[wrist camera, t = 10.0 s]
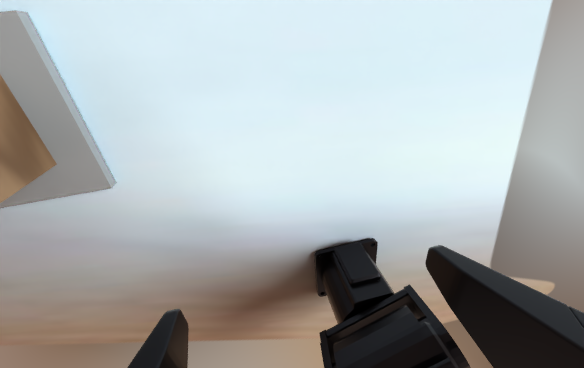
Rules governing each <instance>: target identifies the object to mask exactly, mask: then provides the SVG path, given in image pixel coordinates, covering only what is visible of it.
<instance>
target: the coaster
mask: <svg viewBox="0 0 584 368" xmlns="http://www.w3.org/2000/svg"><path fill="white" fill-rule="evenodd" d="M0 75H1V76H2V78H3V79H4V81H5V83H6V84H7V86H8V87H9V89H10V91H11V92H12V94H13V95H14V97H15V98H16V100H17V102H18V103H19V105H20V106H21V108H22V110H23V111H24V113H25V114H26V116H27V117H28V119H29V121H30V122H31V124H32V125H33V127H34V129H35V130H36V132H37V133H38V135H39V137H40V138H41V140H42V141H43V143H44V144H45V146H46V148H47V149H48V151H49V152H50V154H51V156H52V157H53V159H54V160H55V162H56V164H57V165H55V166H54V167H52V168H51V169H49V170H48V171H46V172H45V173H44V174H42V175H41V176H39V177H38V178H36V179H35V180H33V181H32V182H30V183H29V184H28V185H26V186H25V187H23V188H22V189H20V190H19V191H17V192H16V193H14V194H13V195H12V196H10V197H9V198H7V199H6V200H4V201H3V202H1V203H0V208H4V207H9V206H15V205H20V204H26V203H32V202H37V201H43V200H48V199H54V198H59V197H65V196H71V195H76V194H82V193H87V192H93V191H98V190H104V189H110V188H112V187H113V186H114V185H115V183H116V181H115V179H114V177H113V175H112V174H111V172H110V170H109V168H108V166H107V164H106V162H105V160H104V158H103V156H102V154H101V152H100V151H99V149H98V147H97V145H96V143H95V141H94V139H93V137H92V135H91V133H90V131H89V130H88V128H87V126H86V124H85V122H84V120H83V118H82V116H81V114H80V112H79V110H78V108H77V107H76V105H75V103H74V101H73V99H72V97H71V95H70V93H69V91H68V89H67V87H66V85H65V84H64V82H63V80H62V78H61V76H60V74H59V72H58V70H57V68H56V66H55V64H54V62H53V61H52V59H51V57H50V55H49V53H48V51H47V49H46V47H45V45H44V43H43V41H42V39H41V38H40V36H39V34H38V32H37V30H36V28H35V26H34V24H33V22H32V20H31V18H30V16H29V15H28V13H27V12H22V11H6V12H0Z"/></svg>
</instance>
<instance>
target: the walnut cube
mask: <svg viewBox="0 0 584 368" xmlns="http://www.w3.org/2000/svg"><path fill="white" fill-rule="evenodd" d="M55 165H57V164H56V162H55V160H54V159H53V157H52V156H51V154H50V152H49V151H48V149H47V148H46V146H45V144H44V143H43V141H42V140H41V138H40V137H39V135H38V133H37V132H36V130H35V129H34V127H33V125H32V124H31V122H30V121H29V119H28V117H27V116H26V114H25V113H24V111H23V110H22V108H21V106H20V105H19V103H18V102H17V100H16V98H15V97H14V95H13V94H12V92H11V91H10V89H9V87H8V86H7V84H6V83H5V81H4V79H3V78H2V76H1V75H0V203H1V202H3V201H4V200H6V199H7V198H9V197H10V196H12V195H13V194H14V193H16V192H17V191H19V190H20V189H22V188H23V187H25V186H26V185H28V184H29V183H30V182H32V181H33V180H35V179H36V178H38V177H39V176H41V175H42V174H44V173H45V172H46V171H48V170H49V169H51V168H52V167H54V166H55Z"/></svg>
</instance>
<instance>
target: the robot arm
mask: <svg viewBox="0 0 584 368" xmlns="http://www.w3.org/2000/svg"><path fill="white" fill-rule="evenodd" d="M320 255H321V256H320ZM376 255H377V242H376V240H375V239H373V238H372V239H367V240H363V241H359V242H354V243H350V244H346V245H341V246H337V247H333V248H328V249H324V250H320V251H317V252H316V253H315V254H314V259H315V271H316V283H317V293H318V295H319V296H321V297H322V296H326V295H327V296H328V299H329V302H330V304H331V307H332V310H333V312H334V315H335V318H336V320H337V323H338V324H337V325H336V326H334V327H332V328H330V329H328V330H324V331H322V332H320V339H321V343H320V345H321V350H322V357H323V362H324V368H470V365H469V364H468V362H467V360H466V358H465V357H464V355H463V354H462V352H461V350H460V349H459V348H458V346H457V344H456V343H455V341H454V340H453V339H452V337H451V336H450V335H449V333H448V332H447V330H446V329H445V328H444V326H443V325H442V324H441V322H440V321H439V320H438V319H437V317H436V316H435V315H434V314H433V312H432V311H431V310H430V309H429V308H428V306H427V305H426V304H425V303H424V301H423V300H422V299H421V298H420V297H419V295H418V294H417V293H416V292H415V290H414V289H413V288H412V287H411V286H410V285H408V286H406V287H404V289H403V290H401V291H399V292H397V293H395V294H394V292H393V290H392V289H391V287H390V286H389V284H388V283H387V281H386V280H385V278H384V277H383V275H382V274H381V272H380V270H379V269H378V267H377V266H376ZM426 267H427V270H428V271H429V273H430V275H431V276H432V278H433V280H434V281H435V283H436V285H437V287H438V288H439V290H440V292H441V293H442V295H443V297H444V298H445V300H446V302H447V303H448V305H449V306H450V308H451V309H452V311H453V312H454V314H455V315H456V317H457V318H458V319H459V320H460V322H461V323H462V325H463V326H464V327H465V329H466V330H467V332H468V333H469V334H470V336H471V337H472V339H473V340H474V341H475V343H476V344H477V346H478V347H479V348H480V350H481V351H482V352H483V354H484V355H485V356H486V358H487V359H488V361H489V362H490V363H491V365H492V366H493V368H584V313H583V312H581V311H579V310H577V309H574V308H572V307H570V306H569V307H568V306H567V305H566V304H564V303H562V302H560V301H557V300H555V299H553V298H551V297H549V296H547V295H545V294H543V293H541V292H539V291H537V290H534V289H532V288H530V287H528V286H526V285H524V284H522V283H520V282H518V281H515V280H513V279H511V278H509V277H507V276H505V275H503V274H501V273H499V272H497V271H494V270H492V269H490V268H488V267H486V266H484V265H482V264H480V263H478V262H476V261H473V260H471V259H469V258H467V257H465V256H463V255H461V254H459V253H457V252H455V251H452V250H450V249H448V248H446V247H444V246H441V245H438V246H434V247H430V248H429V250H428V254H427V258H426ZM187 360H188V323H187V321H186V319H185V317H184V315H183V313H182V312H181V310H180V309H174V310H170V311H167V312H166V313H165V314H164V315H163V316H162V318H161V319H160V321H159V322H158V324H157V325H156V327H155V328H154V330H153V331H152V333H151V334H150V335H149V337H148V338H147V340H146V341H145V343H144V344H143V346H142V347H141V349H140V350H139V351H138V353H137V354H136V356H135V357H134V359H133V360H132V362H131V363H130V365H129V366H128V368H187Z"/></svg>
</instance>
